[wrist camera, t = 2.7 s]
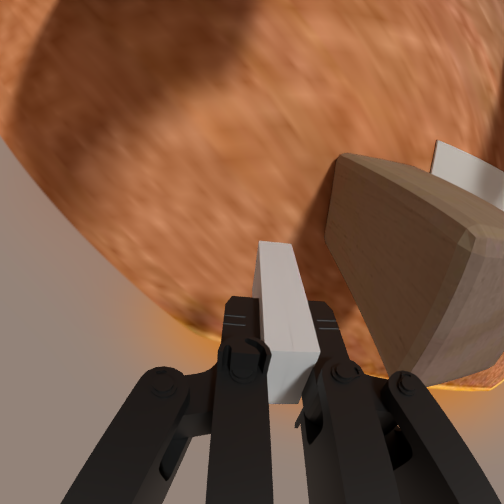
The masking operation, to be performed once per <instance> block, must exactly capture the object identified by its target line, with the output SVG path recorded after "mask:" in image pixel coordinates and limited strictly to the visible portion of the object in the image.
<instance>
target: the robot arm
mask: <svg viewBox="0 0 504 504" xmlns="http://www.w3.org/2000/svg"><path fill="white" fill-rule="evenodd" d="M301 396H302V400H303V409H302V411H301V413H300V415H299V416H298V418H297V420H296V422H295V428H298V427H299V425H300V423H301V431H302V440H303V449H304V457H305V467H306V476H307V486H308V496H309V504H501V502H500V500H499V499H498V497H497V495H496V493H495V491H494V489H493V488H492V486H491V484H490V483H489V481H488V479H487V477H486V476H485V474H484V472H483V471H482V469H481V467H480V466H479V464H478V463H477V461H476V460H475V458H474V457H473V455H472V453H471V452H470V450H469V448H468V447H467V445H466V444H465V442H464V441H463V439H462V438H461V436H460V435H459V433H458V432H457V430H456V429H455V427H454V426H453V424H452V423H451V422H450V420H449V419H448V417H447V416H446V414H445V413H444V411H443V410H442V409H441V407H440V406H439V404H438V403H437V402H436V400H435V399H434V397H433V396H432V395H431V393H430V392H429V390H428V389H427V388H426V386H425V385H424V384H423V382H422V381H421V380H420V379H419V378H418V377H417V376H416V375H415V374H413V373H411V372H408V371H403V370H402V371H396V372H395V373H393V374H392V375H391V376H390V378H389V379H383V378H378V377H373V376H369V375H366V374H364V372H363V371H362V369H361V367H360V366H359V365H357V364H356V363H355V362H354V361H351V360H350V359H349V356H348V353H347V350H346V347H345V344H344V342H343V339H342V336H341V333H340V330H339V327H338V324H337V322H336V319H335V316H334V313H333V310H332V309H331V308H330V307H329V306H328V305H327V304H326V303H325V302H321V301H307V298H306V294H305V291H304V287H303V283H302V280H301V276H300V273H299V269H298V266H297V262H296V259H295V255H294V252H293V248H292V245H291V244H287V243H277V242H266V241H259V244H258V251H257V259H256V266H255V274H254V281H253V289H252V298H250V297H238V296H232V297H231V298H230V299H229V300H228V302H227V303H226V304H225V313H224V321H223V330H222V339H221V344H220V347H219V349H218V360H217V363H216V364H215V365H214V366H213V367H212V368H211V369H209V370H207V371H206V372H202V373H198V374H192V375H185V376H184V375H183V373H182V372H180V371H178V370H176V369H174V368H170V367H165V366H164V367H155V368H153V369H151V370H148V371H147V372H146V373H145V374H144V375H143V376H142V377H141V378H140V379H139V381H138V382H137V384H136V385H135V387H134V389H133V390H132V392H131V393H130V394H129V396H128V398H127V399H126V401H125V402H124V404H123V405H122V407H121V408H120V410H119V411H118V413H117V414H116V416H115V417H114V419H113V420H112V422H111V424H110V425H109V427H108V428H107V430H106V431H105V433H104V434H103V436H102V438H101V439H100V441H99V442H98V444H97V445H96V447H95V449H94V450H93V452H92V453H91V455H90V456H89V458H88V460H87V461H86V463H85V465H84V466H83V468H82V469H81V471H80V472H79V474H78V476H77V477H76V479H75V481H74V482H73V484H72V486H71V487H70V489H69V490H68V492H67V494H66V495H65V497H64V499H63V500H62V502H61V504H162V503H163V501H164V499H165V496H166V494H167V492H168V490H169V488H170V486H171V483H172V481H173V479H174V477H175V475H176V473H177V470H178V468H179V466H180V464H181V462H182V459H183V457H184V455H185V453H186V450H187V448H188V446H189V444H190V442H191V439H192V437H195V436H201V435H206V434H211V440H210V452H209V465H208V478H207V491H206V504H273V481H272V460H271V441H270V421H269V404H298V403H299V400H300V398H301ZM397 425H398V426H399V427H400V428H399V427H398V426H397Z"/></svg>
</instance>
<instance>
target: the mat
mask: <svg viewBox="0 0 504 504" xmlns="http://www.w3.org/2000/svg"><path fill="white" fill-rule="evenodd" d="M430 173H431V174H433V175H435V176H437V177H440V178H442V179H444V180H446V181H448V182H450V183H452V184H454V185H456V186H458V187H460V188H462V189H464V190H466V191H468V192H470V193H472V194H474V195H476V196H478V197H480V198H481V199H483V200H485V201H487V202H489V203H490V204H492V205H494V206H496V207H497V208H499V209H501V210H502V211H504V172H503V171H501V170H499V169H498V168H496V167H494V166H492V165H490V164H488V163H486V162H485V161H483V160H481V159H479V158H477V157H475V156H473V155H471V154H468V153H466V152H464V151H462V150H460V149H458V148H455V147H453V146H451V145H449V144H446V143H444V142H441V141H439V140H437V141H436V146H435V152H434V157H433V162H432V167H431V171H430Z"/></svg>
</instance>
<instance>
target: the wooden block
mask: <svg viewBox="0 0 504 504" xmlns="http://www.w3.org/2000/svg"><path fill="white" fill-rule="evenodd" d="M324 238H325V243H326V245H327V247H328V249H329V250H330V252H331V254H332V256H333V258H334V260H335V262H336V264H337V266H338V268H339V270H340V271H341V273H342V275H343V277H344V279H345V281H346V283H347V285H348V287H349V289H350V291H351V293H352V295H353V298H354V300H355V302H356V304H357V306H358V308H359V310H360V312H361V314H362V316H363V318H364V321H365V323H366V325H367V327H368V329H369V332H370V334H371V336H372V338H373V340H374V343H375V345H376V347H377V349H378V352H379V354H380V356H381V359H382V361H383V363H384V366H385V368H386V371H387V373H388V375H389V378H390V376H391V375H392V374H393V373H395V372H396V371H402V370H403V371H408V372H411V373H413V374H415V375H416V376H417V377H418V378H419V379H420V380H421V381H422V382H423V384H424V385H425V386H426V387H429V386H433V385H437V384H441V383H444V382H448V381H452V380H455V379H458V378H462V377H465V376H468V375H471V374H474V373H477V372H480V371H483V370H486V369H488V368H490V367H491V366H493V365H495V363H496V362H497V360H498V359H499V358H500V356H501V355H502V353H503V352H504V211H502V210H501V209H499V208H497V207H496V206H494V205H492V204H490V203H489V202H487V201H485V200H483V199H481V198H480V197H478V196H476V195H474V194H472V193H470V192H468V191H466V190H464V189H462V188H460V187H458V186H456V185H454V184H452V183H450V182H448V181H446V180H444V179H442V178H440V177H437V176H435V175H433V174H431V173H428V172H426V171H424V170H421V169H419V168H417V167H414V166H410V165H406V164H402V163H397V162H393V161H388V160H383V159H378V158H373V157H368V156H363V155H357V154H351V153H344V154H341V155H339V157H338V159H337V161H336V166H335V174H334V181H333V187H332V194H331V200H330V206H329V212H328V218H327V224H326V229H325V235H324Z"/></svg>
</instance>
